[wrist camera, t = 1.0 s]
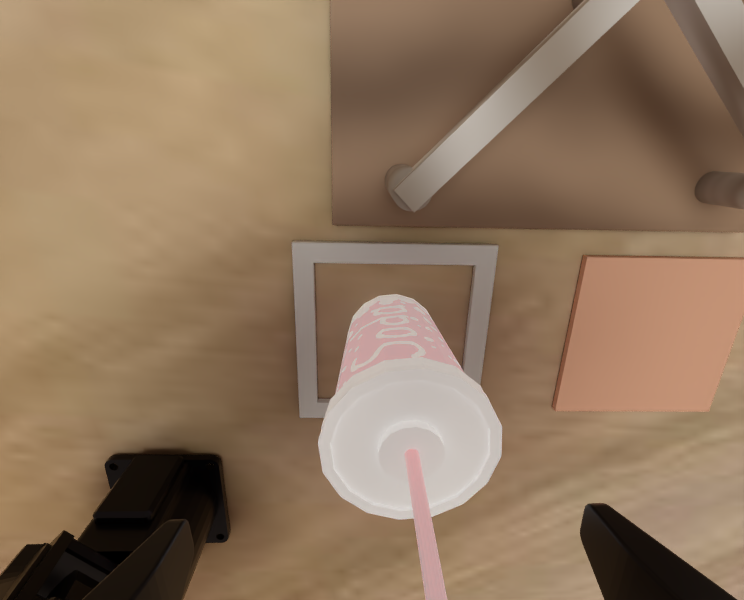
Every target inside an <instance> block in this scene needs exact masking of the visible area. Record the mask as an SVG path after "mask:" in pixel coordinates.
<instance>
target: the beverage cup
mask: <svg viewBox="0 0 744 600" xmlns="http://www.w3.org/2000/svg"><path fill="white" fill-rule="evenodd" d="M318 447H319V453H320V459H321V465H322V471H323V473H324V475H325V476H326V478H327V479H328V480H329V482H330V483H331V485H332V486H333V487H334V489H335V490H336V491H337V493H338V494H339V496H340V497H342V498H343V499H345V500H347V501H348V502H350V503H352V504H353V505H355V506H357V507H358V508H360V509H362V510H363V511H365V512H366V513H370V514H375V515H380V516H384V517H389V518H394V519H398V520H401V519H412V518H414V523H415V530H416V537H417V543H418V550H419V557H420V564H421V571H422V578H423V585H424V591H425V598H426V600H447V596H446V590H445V585H444V580H443V575H442V570H441V565H440V559H439V554H438V549H437V544H436V539H435V534H434V528H433V523H432V518H431V517H433V516H435V515H438V514H440V513H443V512H445V511H447V510H450V509H452V508H455V507H457V506H460V505H462V504H464V503H465V502H466V501H467V500H468V499H470V498H471V497H472V496H473V495H474V494H475V493H477V492H478V491H479V490H480V489H481V488H482V487H483V486H485V485H486V484H487V483H488V481H489V479H490V477H491V475H492V473H493V471H494V469H495V467H496V466H497V464H498V462H499V460H500V458H501V452H502V425H501V423H500V421H499V419H498V417H497V415H496V413H495V411H494V409H493V407H492V405H491V403H490V401H489V399H488V397H487V395H486V394H485V393H484V391H483V389H482V387H481V386H480V385H479V384H478V383H476V382H475V381H474V380H473V379H471V378H470V377H469V376H467V375H466V374H465V373H464V371H463V370H462V368H461V366H460V365H459V363H458V361H457V360H456V358H455V356H454V355H453V353H452V351H451V350H450V348H449V346H448V345H447V343H446V341H445V340H444V338H443V336H442V335H441V333H440V331H439V330H438V328H437V326H436V325H435V323H434V321H433V320H432V318H431V316H430V315H429V313H428V311H427V310H426V309H425V308H424V307H423V306H422V305H420V304H419V303H418V302H417V301H415V300H414V299H412V298H409V297H405V296H402V295H398V294H393V295H382V296H378V297H376V298H374V299H372V300H370V301H368V302H366V303H364V304H363V305H362V306H361V308H360V309H359V310H358V311H357V312H356V313H355V314H354V316H353V318H352V321H351V324H350V327H349V331H348V335H347V340H346V345H345V350H344V354H343V359H342V364H341V369H340V374H339V378H338V383H337V388H336V393H335V395H334V396H333V397H332V398H331V399H330V402H329V405H328V408H327V411H326V414H325V417H324V420H323V423H322V427H321V432H320V436H319V440H318Z"/></svg>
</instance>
